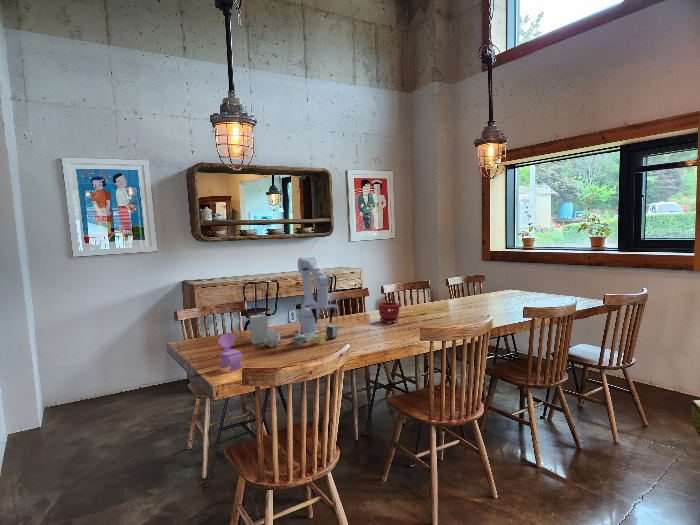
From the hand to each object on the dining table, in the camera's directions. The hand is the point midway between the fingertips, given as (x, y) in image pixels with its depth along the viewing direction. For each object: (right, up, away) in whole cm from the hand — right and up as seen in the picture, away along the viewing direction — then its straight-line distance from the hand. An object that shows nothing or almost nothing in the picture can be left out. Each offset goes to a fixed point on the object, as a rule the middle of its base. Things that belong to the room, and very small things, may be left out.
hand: (323, 322), depth 226 cm
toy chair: (-38, -14, -42) cm, 58 cm away
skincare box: (-35, -11, +1) cm, 36 cm away
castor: (+4, -9, +5) cm, 12 cm away
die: (-26, -11, -7) cm, 30 cm away
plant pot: (+40, -6, +43) cm, 59 cm away
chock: (-2, -10, -3) cm, 11 cm away
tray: (-9, -10, +4) cm, 14 cm away
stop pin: (-14, -11, -2) cm, 17 cm away
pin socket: (-14, -10, -2) cm, 17 cm away
